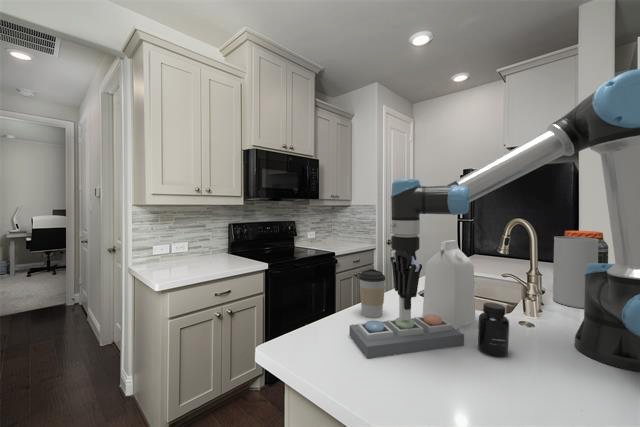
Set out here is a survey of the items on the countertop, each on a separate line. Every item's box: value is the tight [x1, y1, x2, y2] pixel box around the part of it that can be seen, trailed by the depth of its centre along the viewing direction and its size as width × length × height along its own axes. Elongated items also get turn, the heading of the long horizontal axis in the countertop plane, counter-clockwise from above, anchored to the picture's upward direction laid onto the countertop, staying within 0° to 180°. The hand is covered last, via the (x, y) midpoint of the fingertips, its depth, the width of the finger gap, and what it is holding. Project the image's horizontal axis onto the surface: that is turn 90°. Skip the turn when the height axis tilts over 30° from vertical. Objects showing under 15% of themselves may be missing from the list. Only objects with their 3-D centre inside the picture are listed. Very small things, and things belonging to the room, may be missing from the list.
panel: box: [349, 316, 465, 360], centre depth 81 cm, size 13×28×4 cm, turn 104°
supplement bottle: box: [477, 302, 510, 358], centre depth 74 cm, size 7×7×12 cm
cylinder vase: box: [552, 235, 598, 310], centre depth 109 cm, size 12×12×25 cm
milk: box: [421, 239, 477, 330], centre depth 95 cm, size 12×12×26 cm
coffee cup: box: [358, 268, 386, 319], centre depth 100 cm, size 9×9×15 cm
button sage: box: [394, 317, 414, 330], centre depth 81 cm, size 5×5×2 cm
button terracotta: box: [424, 315, 442, 326], centre depth 83 cm, size 5×5×2 cm
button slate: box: [365, 319, 384, 333], centre depth 78 cm, size 5×5×2 cm
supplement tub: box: [564, 230, 609, 264], centre depth 126 cm, size 16×16×26 cm
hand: (405, 319), depth 80 cm, fingers closed
